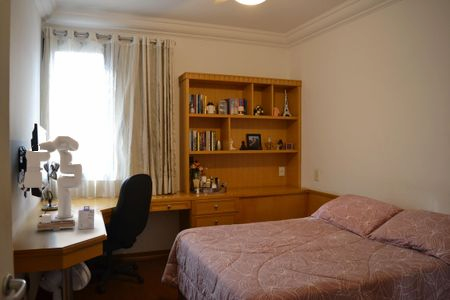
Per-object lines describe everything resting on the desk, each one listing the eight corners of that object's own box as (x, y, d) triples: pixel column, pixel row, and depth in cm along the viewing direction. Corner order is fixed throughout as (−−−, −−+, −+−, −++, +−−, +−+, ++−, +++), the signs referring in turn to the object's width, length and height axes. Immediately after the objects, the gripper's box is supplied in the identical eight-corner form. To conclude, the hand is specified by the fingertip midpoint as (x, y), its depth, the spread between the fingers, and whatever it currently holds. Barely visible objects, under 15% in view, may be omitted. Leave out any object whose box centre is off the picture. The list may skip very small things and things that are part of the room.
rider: (42, 223, 221) (42, 214, 221) (50, 222, 223) (50, 213, 223) (41, 224, 217) (42, 215, 217) (50, 224, 219) (50, 215, 219)
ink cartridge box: (94, 226, 233) (94, 205, 233) (93, 228, 228) (94, 207, 228) (78, 227, 230) (79, 206, 230) (77, 229, 225) (78, 207, 225)
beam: (37, 229, 222) (37, 221, 222) (74, 226, 232) (74, 219, 232) (37, 232, 214) (37, 224, 214) (75, 229, 224) (75, 222, 224)
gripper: (49, 169, 223) (48, 196, 224) (18, 169, 216) (17, 197, 216) (48, 170, 217) (48, 197, 217) (17, 170, 209) (16, 198, 209)
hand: (32, 197), depth 216 cm, fingers open, 7 cm apart
